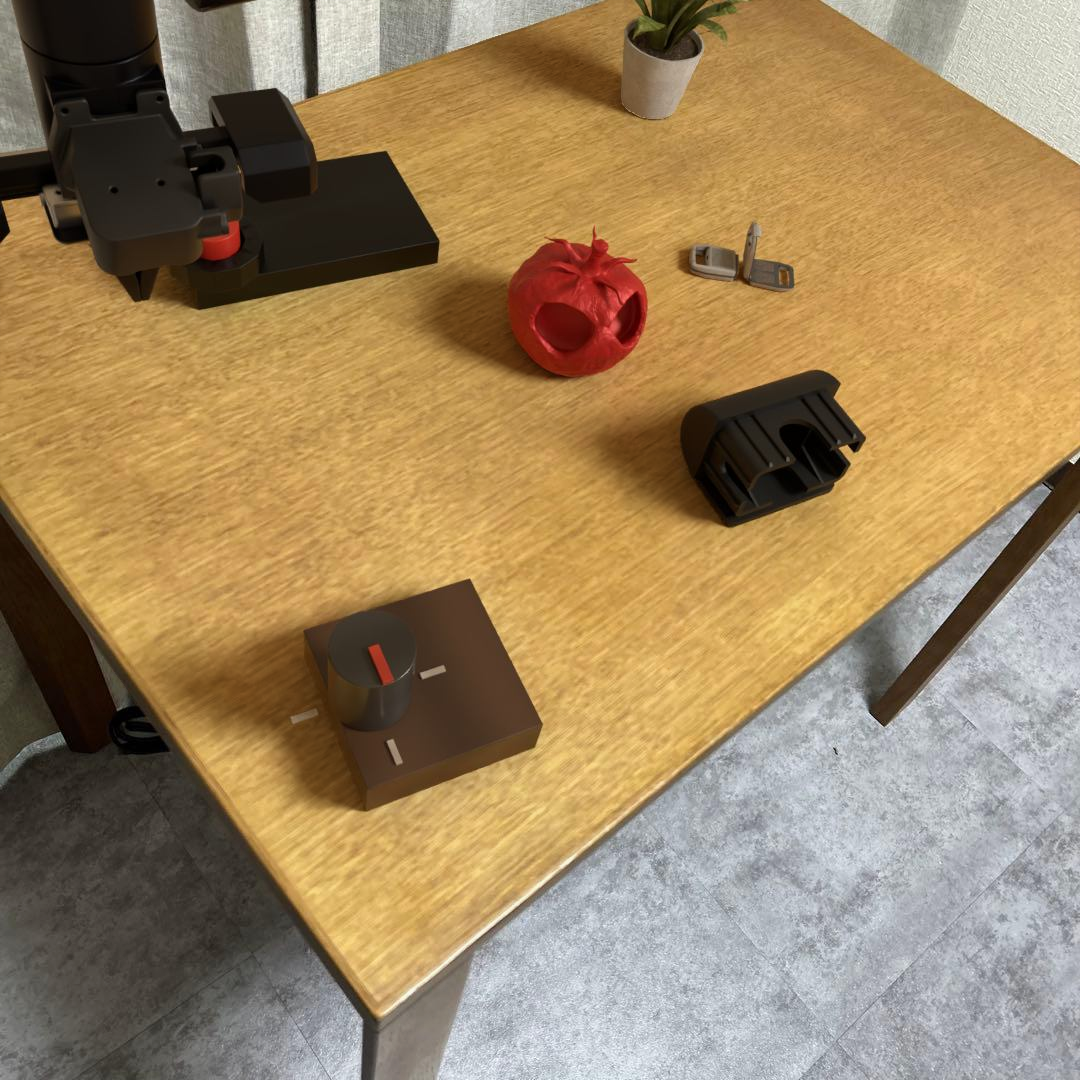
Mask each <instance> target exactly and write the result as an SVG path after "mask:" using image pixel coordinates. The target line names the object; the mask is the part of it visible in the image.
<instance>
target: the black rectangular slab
mask: <svg viewBox="0 0 1080 1080" xmlns="http://www.w3.org/2000/svg"><path fill="white" fill-rule="evenodd" d="M240 180H241V172H240ZM317 183H318V187H317V189H316V190H315V191H314V192H313V193H312V195H311V196H306V197H300V198H294V199H288V200H282V201H276V202H270V203H264V204H261V203H259V202H258V201H256V200H255V199H253V198H251V197H250V196H248V195H247V194H245V192H244V190H243V188H242V182H241V189H242V197H243V215H242V219H241V220H240V221H238V222H239V231H240V242H241V244H240V248H239V250H238V252H237V253H236V254H235V255H233V256H232V257H230V258H225V259H220V260H214V261H213V260H207V259H201V258H198V259H197V260H196V261H194V262H192V263H190V264H186V265H180V266H178V265H168V266H167V269H168V271H169V273H170V276H171V277H172V278H174V279H176V280H177V281H179V282H180V283H181V284H183V285H185V286H186V287H188V288H189V290H190V292H191V295H192V298H193V300H194V302H195V304H196V307H197V310H199V311H203V310H208V309H213V308H217V307H223V306H227V305H233V304H238V303H243V302H248V301H252V300H253V301H254V300H259V299H264V298H267V297H274V296H279V295H282V294H283V295H284V294H289V293H294V292H299V291H303V290H309V289H314V288H318V287H319V288H320V287H324V286H330V285H334V284H339V283H345V282H349V281H355V280H360V279H364V278H369V277H375V276H380V275H385V274H390V273H395V272H400V271H405V270H406V271H407V270H410V269H415V268H419V267H420V268H421V267H427V266H432V265H436V264H438V263H439V254H440V244H441V243H440V242H441V241H440V238H439V237H438V235H437V234H436V232H435V230H434V228H433V227H432V225H431V224H430V222H429V220H428V218H427V216H426V215H425V213H424V211H423V210H422V208H421V206H420V205H419V203H418V201H417V200H416V198H415V196H414V195H413V193H412V191H411V189H410V188H409V186H408V184H407V183H406V181H405V180H404V178H403V176H402V174H401V172H400V171H399V169H398V168H397V166H396V164H395V163H394V160H393V159H392V158H391V155H390V154H389V153H388V151H387V150H381V151H375V152H368V153H361V154H356V155H349V156H343V157H336V158H330V159H323V160H317Z"/></svg>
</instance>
